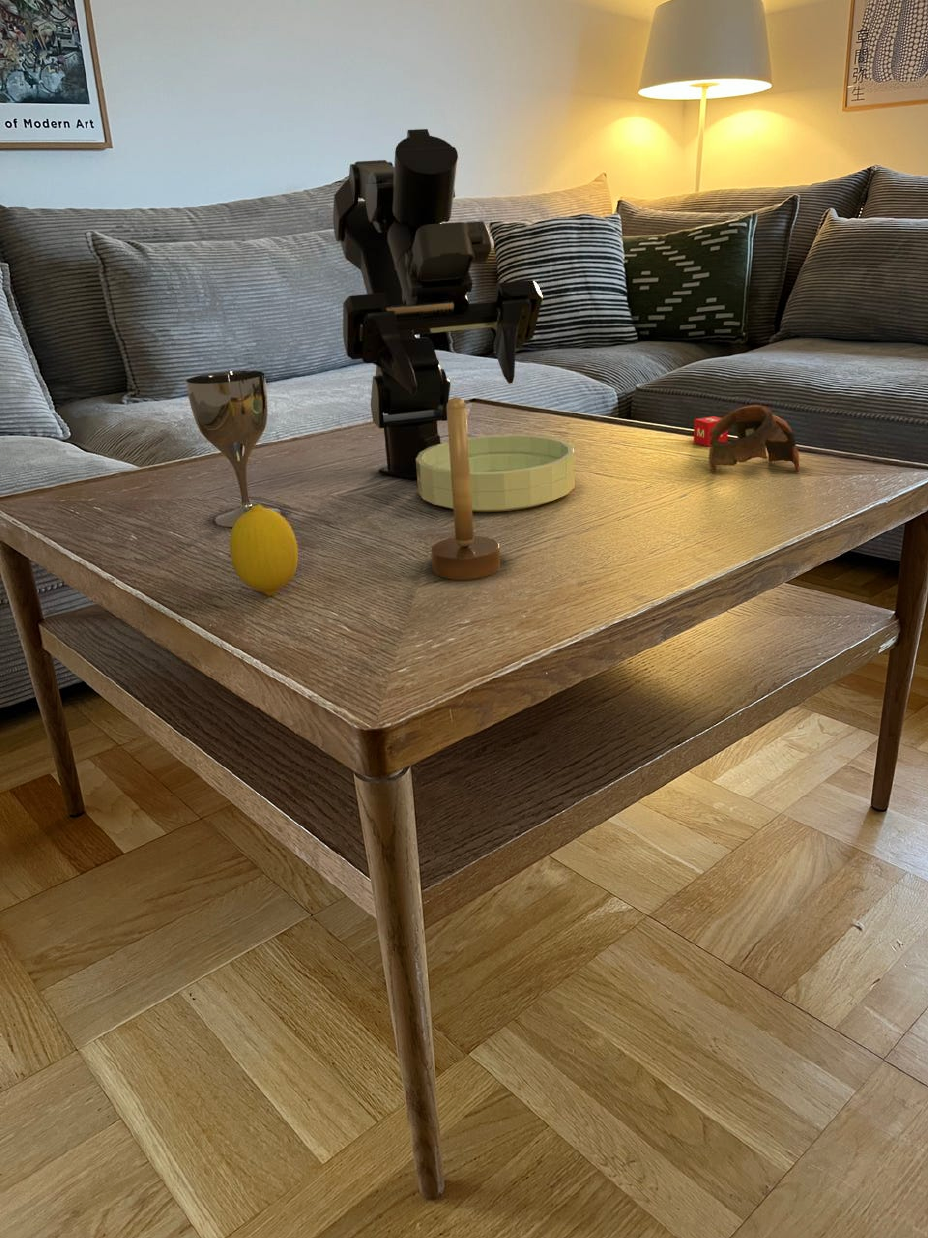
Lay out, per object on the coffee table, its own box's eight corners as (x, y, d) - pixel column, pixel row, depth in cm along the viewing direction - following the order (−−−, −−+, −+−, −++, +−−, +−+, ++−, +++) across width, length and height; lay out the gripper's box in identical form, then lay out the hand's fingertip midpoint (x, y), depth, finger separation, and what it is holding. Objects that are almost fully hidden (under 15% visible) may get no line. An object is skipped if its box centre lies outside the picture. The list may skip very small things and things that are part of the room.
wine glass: (297, 507, 102) (278, 370, 96) (261, 529, 95) (237, 383, 89) (236, 504, 104) (214, 370, 98) (196, 526, 98) (169, 384, 92)
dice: (693, 442, 118) (694, 419, 117) (713, 439, 119) (714, 415, 118) (707, 446, 115) (708, 423, 114) (727, 443, 116) (728, 419, 115)
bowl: (387, 500, 102) (383, 461, 100) (487, 465, 114) (485, 429, 112) (508, 525, 91) (506, 481, 90) (605, 483, 103) (605, 444, 101)
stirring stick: (419, 571, 81) (404, 401, 75) (463, 551, 85) (452, 388, 79) (469, 585, 77) (458, 407, 71) (514, 564, 81) (506, 393, 75)
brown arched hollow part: (815, 482, 100) (789, 423, 96) (732, 518, 103) (704, 462, 99) (790, 431, 109) (766, 374, 105) (715, 465, 113) (689, 412, 108)
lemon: (243, 586, 80) (227, 498, 77) (306, 580, 81) (293, 493, 77) (233, 610, 75) (217, 518, 72) (301, 604, 76) (287, 512, 72)
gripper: (330, 200, 81) (365, 328, 74) (529, 188, 85) (579, 308, 78) (331, 298, 91) (362, 419, 84) (510, 283, 95) (553, 397, 88)
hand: (463, 385), depth 83 cm, fingers open, 9 cm apart
